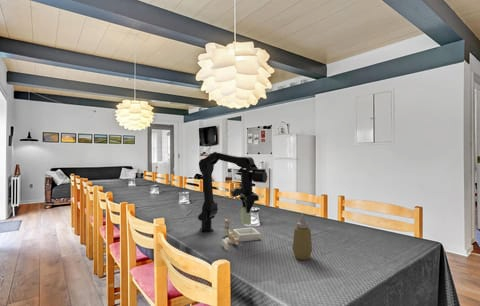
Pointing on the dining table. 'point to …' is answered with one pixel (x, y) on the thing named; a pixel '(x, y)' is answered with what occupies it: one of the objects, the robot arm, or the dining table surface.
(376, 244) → the dining table surface
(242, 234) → the tray
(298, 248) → the squeeze bottle
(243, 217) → the block
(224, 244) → the crank housing
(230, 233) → the crank
